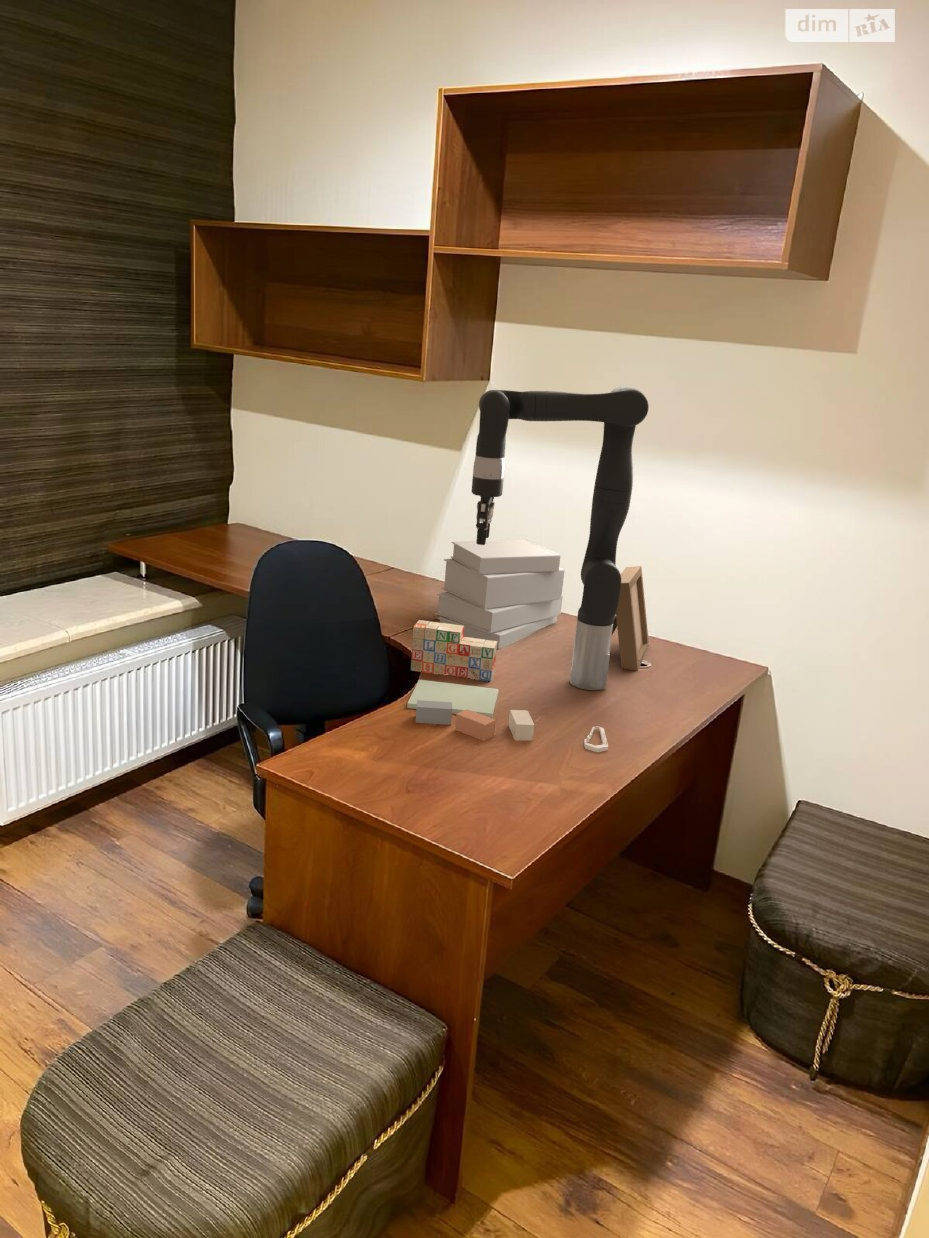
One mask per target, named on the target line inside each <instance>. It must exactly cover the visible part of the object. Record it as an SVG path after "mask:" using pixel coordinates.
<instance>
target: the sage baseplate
mask: <svg viewBox="0 0 929 1238" xmlns="http://www.w3.org/2000/svg"><path fill="white" fill-rule="evenodd" d="M498 696H499V688H492V687H491V688H490V687H484V686H483V687H482V686H476V685H467V684H461V683H460V684H459V683H458V684H457V683H451V682H441V681H435V680H428V679H427V680H425V679H418V680H417V683H416V685H415V688H414V689H413V691H412V693H411V695H410V697H409V699H408V701H407V703H406V704H407V705H406V708H407V709H413V710H416V707H417V700H423V701H439V702H452V715H453V714H454V715H456V714H457V713H459V712H462V711H464V710H466V709H468V710H471V711H474V712H476V713H479V714H482V715H484V716H487V717H489V718H492V719H493V716H494V712H495V709H496V708H495V707H496V705H497V700H498Z"/></svg>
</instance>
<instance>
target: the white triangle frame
mask: <svg viewBox="0 0 929 1238" xmlns="http://www.w3.org/2000/svg"><path fill="white" fill-rule="evenodd" d="M595 730H599V733H600V734H599V735H600V739H601V744H598V745H594V744H591V743H590V739H592V737H593V736H594V731H595ZM583 745H584V749H585V750H588V751H591V752H594V753H600V752H601V753H602V752H606V751H608V750H609V744H608V740H607V736H606V733H605V728H604V727H601V726H598V725H597V726H592V728H591V730H590V732H589V734H588V735H587V736H586V738H584V740H583Z"/></svg>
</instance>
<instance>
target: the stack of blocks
mask: <svg viewBox="0 0 929 1238" xmlns="http://www.w3.org/2000/svg"><path fill="white" fill-rule="evenodd" d="M463 635H464V626H462V625H454V624H447V623H440V622H436V621H429V620H421V619H419V620H418V621H417V622H416V623H415V624H414V625H413V629H412V641H411V643H412V644H411V660H410V671H413V672H421V671H422V672H421V673H425V674H431V673H432V674H434V675H438V674H448V675H452V676H451V677H453V676H458V677H457V678H460V677H463V678H462V679H468V678H470V679H469V680H474V679H475V681H483V682H488V681H491V682H492V679H493V677H494V676H493V675H495V673H496V671H495V669H496V663H497V662H496V660H497V650H498V649H497V641H491V640H484V639H477V638H469V637H463Z"/></svg>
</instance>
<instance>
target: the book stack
mask: <svg viewBox="0 0 929 1238" xmlns="http://www.w3.org/2000/svg"><path fill="white" fill-rule="evenodd" d="M476 541H477V540H473V541H472V540H471V541H465V540H464V541H451V544H452V545H453V553H452V556H450V558H445V559H443V562H445V570H444V571H445V575H444V583H443V584H444V585H443V586H444V587H441V590H443V591H444V592H440V593H437V594H436V596H438V605H437V606H438V608H437V611H436V612H435V613H434V614H435V615H438V616H439V617H437V619H438V620H439V623H447V624H454V625H462V626H464V635H463V637H469V638H477V639H484V640H491V641H497V650H501V649H503V648H505V647H508V646H511V645H512V644H513V643H516V642H518V641H520V640H523V639H525V638H527V637H529V636H531V635H533V634H535V632H537V631H540V630H541V629H542V630H543V628H546V627H548V626H550V625H552V624H553V625H554V624H555V623H557V622H558V621H557V620H558V616H560V615H561V614H562V605H563V586H564V577H565V570H564V568H562V567H560V563H561V554H560V553H558V552H555V551H553V550H551V549H548V548H546V547H544V546H542V545H539V544H537V543H535V542H532V541H530V540H528V539H517V540H516V539H514V540H513V539H511V540H509V539H507V540H486V543H485V545H478V544H477V543H476Z"/></svg>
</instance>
